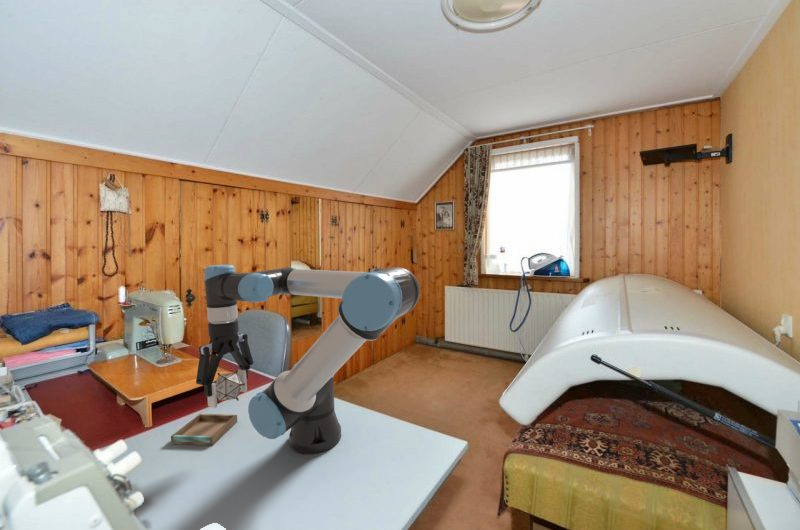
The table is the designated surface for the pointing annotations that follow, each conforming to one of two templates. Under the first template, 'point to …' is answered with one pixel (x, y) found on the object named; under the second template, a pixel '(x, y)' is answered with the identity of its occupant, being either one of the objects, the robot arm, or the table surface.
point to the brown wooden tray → (204, 429)
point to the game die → (228, 386)
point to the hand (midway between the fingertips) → (228, 398)
